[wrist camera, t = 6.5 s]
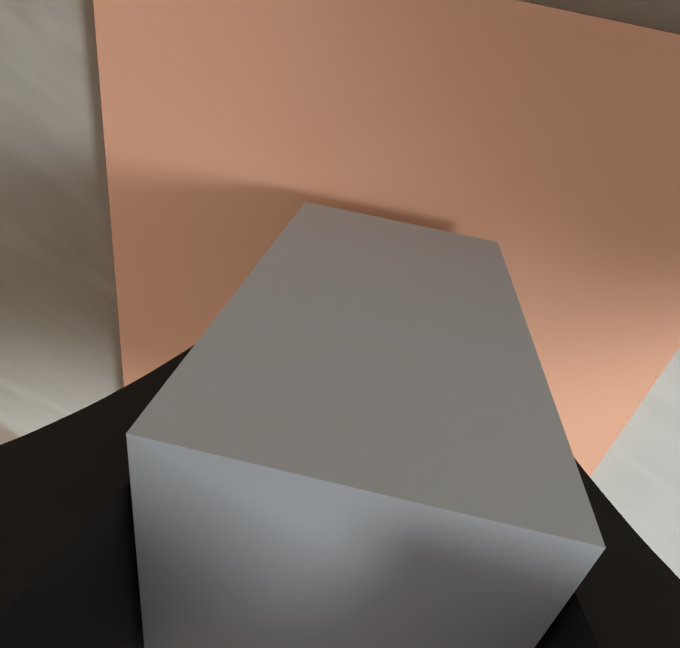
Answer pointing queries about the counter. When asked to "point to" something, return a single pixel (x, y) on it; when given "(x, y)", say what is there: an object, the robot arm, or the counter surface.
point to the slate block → (359, 456)
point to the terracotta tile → (403, 165)
